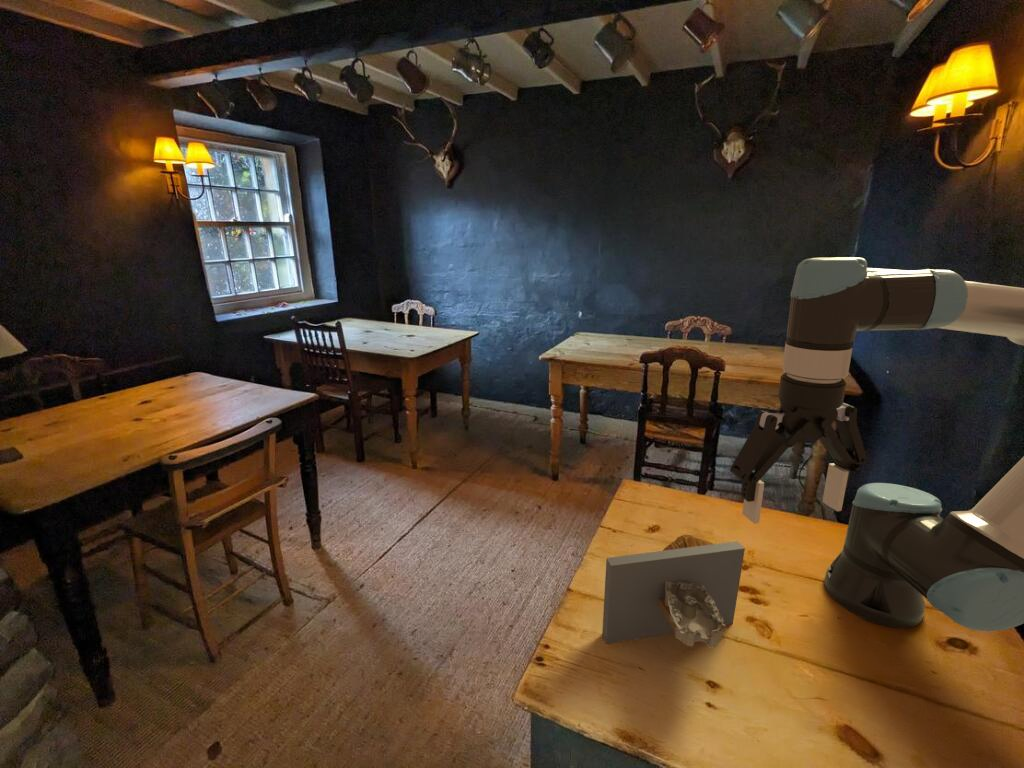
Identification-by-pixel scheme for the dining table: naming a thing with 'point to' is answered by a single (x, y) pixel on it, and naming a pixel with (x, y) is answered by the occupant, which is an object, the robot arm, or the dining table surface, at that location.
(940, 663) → the dining table surface
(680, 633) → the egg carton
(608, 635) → the wall board
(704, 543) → the croissant
